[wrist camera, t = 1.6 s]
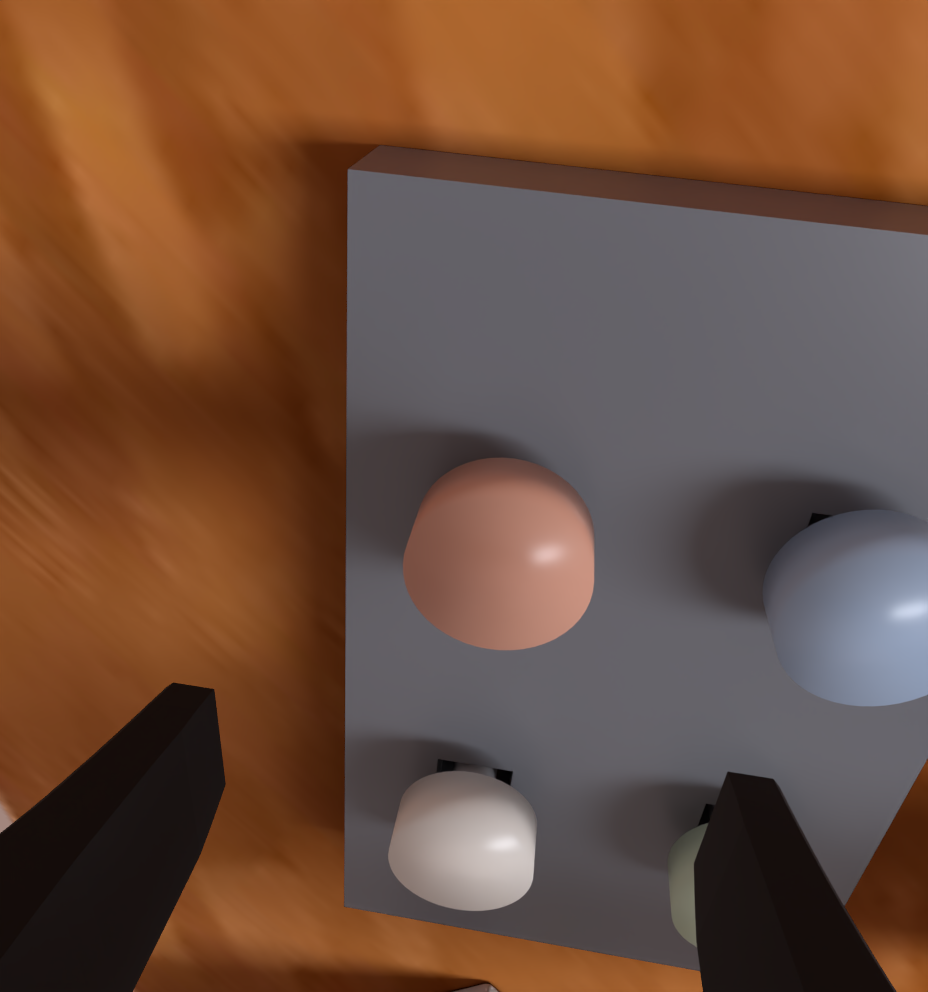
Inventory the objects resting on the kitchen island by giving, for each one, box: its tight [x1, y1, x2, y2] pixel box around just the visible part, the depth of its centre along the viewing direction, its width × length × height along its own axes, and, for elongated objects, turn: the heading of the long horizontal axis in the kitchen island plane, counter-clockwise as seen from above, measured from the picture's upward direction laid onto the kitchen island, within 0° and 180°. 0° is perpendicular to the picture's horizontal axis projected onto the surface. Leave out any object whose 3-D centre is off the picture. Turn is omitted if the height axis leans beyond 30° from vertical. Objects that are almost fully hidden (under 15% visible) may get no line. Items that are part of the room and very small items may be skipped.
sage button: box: [668, 804, 715, 947], centre depth 21 cm, size 4×4×4 cm
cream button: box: [388, 762, 537, 911], centre depth 22 cm, size 4×4×4 cm
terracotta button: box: [403, 458, 595, 650], centre depth 17 cm, size 4×4×4 cm
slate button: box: [762, 510, 928, 706], centre depth 17 cm, size 4×4×4 cm
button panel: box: [344, 145, 928, 971], centre depth 21 cm, size 14×22×2 cm, turn 175°
